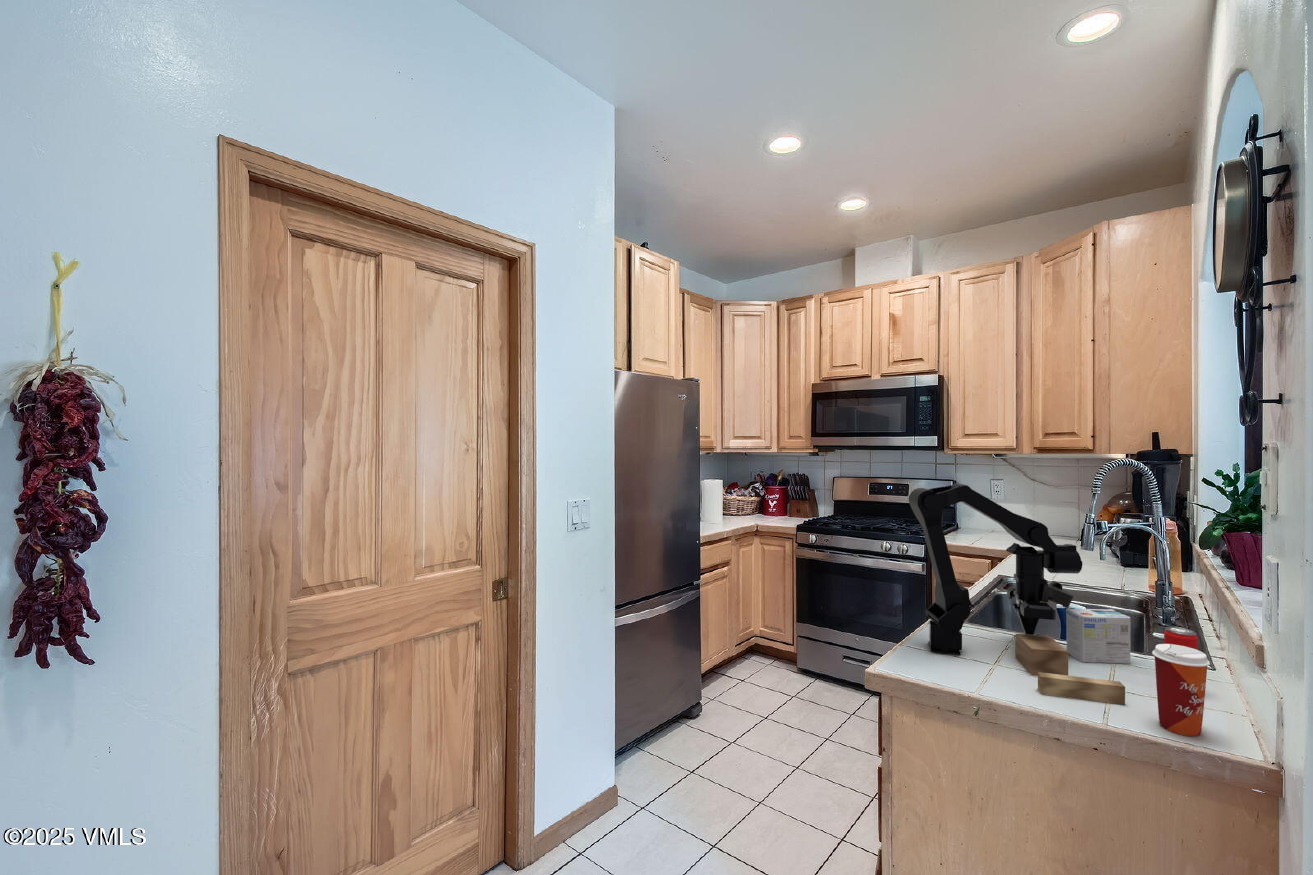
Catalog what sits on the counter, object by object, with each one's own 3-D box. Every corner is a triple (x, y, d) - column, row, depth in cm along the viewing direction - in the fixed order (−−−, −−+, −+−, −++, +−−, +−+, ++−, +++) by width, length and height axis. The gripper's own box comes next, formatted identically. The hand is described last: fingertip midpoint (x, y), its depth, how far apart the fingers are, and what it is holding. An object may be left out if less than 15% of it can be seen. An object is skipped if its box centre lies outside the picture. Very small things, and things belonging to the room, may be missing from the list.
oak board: (1041, 694, 119) (1041, 676, 119) (1037, 689, 122) (1037, 672, 122) (1125, 704, 115) (1125, 686, 115) (1119, 699, 117) (1120, 681, 117)
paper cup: (1194, 743, 100) (1195, 661, 100) (1142, 723, 107) (1142, 646, 107) (1219, 734, 103) (1220, 654, 103) (1166, 714, 111) (1167, 640, 110)
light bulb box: (1112, 653, 141) (1112, 608, 141) (1132, 664, 134) (1132, 617, 134) (1064, 652, 142) (1064, 607, 142) (1081, 663, 135) (1082, 615, 135)
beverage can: (1190, 696, 118) (1190, 636, 118) (1158, 686, 123) (1159, 628, 123) (1202, 691, 120) (1202, 632, 120) (1170, 681, 125) (1171, 625, 125)
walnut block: (1031, 676, 128) (1031, 648, 128) (1015, 659, 138) (1015, 633, 138) (1068, 679, 127) (1068, 651, 127) (1049, 661, 137) (1049, 635, 136)
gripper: (1083, 585, 130) (1082, 655, 130) (1057, 566, 148) (1057, 629, 148) (1024, 580, 134) (1024, 649, 134) (1006, 563, 151) (1006, 624, 152)
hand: (1029, 637), depth 142 cm, fingers closed
